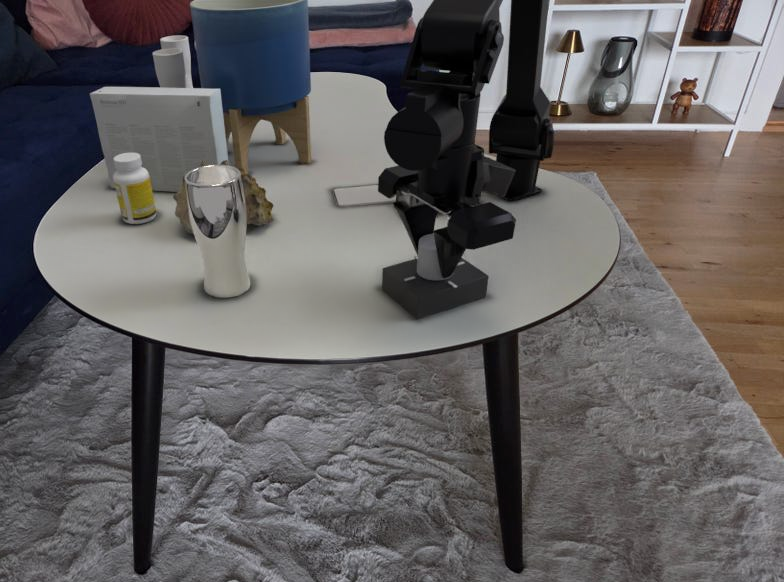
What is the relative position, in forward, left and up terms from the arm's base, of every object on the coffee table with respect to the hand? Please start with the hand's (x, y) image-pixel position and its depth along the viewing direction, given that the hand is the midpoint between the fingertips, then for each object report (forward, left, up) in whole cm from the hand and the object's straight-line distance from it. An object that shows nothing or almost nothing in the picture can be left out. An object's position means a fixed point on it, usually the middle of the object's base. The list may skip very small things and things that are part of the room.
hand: (435, 268), depth 77 cm
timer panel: (0, 0, -4) cm, 4 cm away
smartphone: (-10, -30, -4) cm, 31 cm away
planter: (0, -56, -4) cm, 56 cm away
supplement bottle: (+27, -42, -4) cm, 50 cm away
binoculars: (+10, -73, -4) cm, 73 cm away
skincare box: (+19, -52, -4) cm, 55 cm away
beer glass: (+22, -15, -4) cm, 27 cm away
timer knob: (0, 0, 0) cm, 0 cm away
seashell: (+16, -32, -4) cm, 36 cm away
